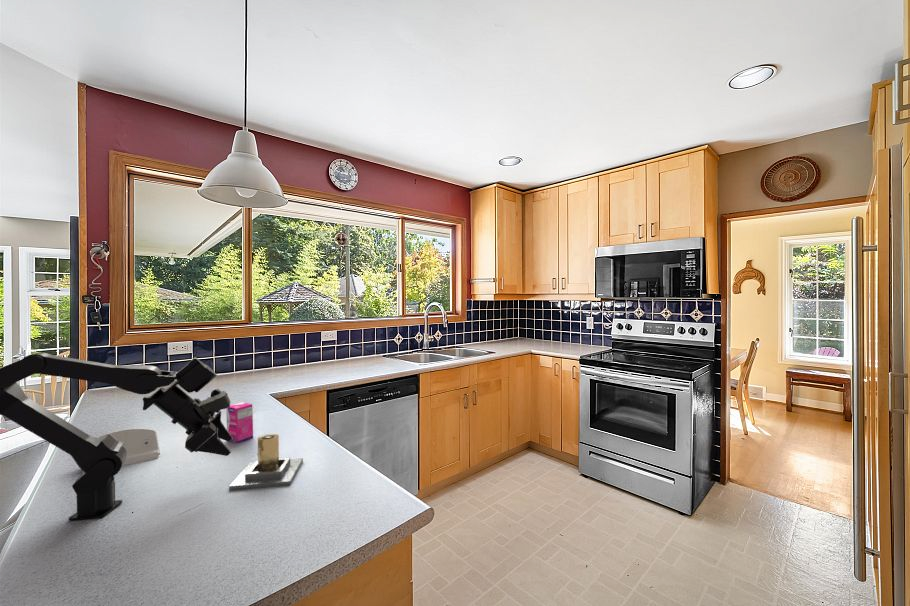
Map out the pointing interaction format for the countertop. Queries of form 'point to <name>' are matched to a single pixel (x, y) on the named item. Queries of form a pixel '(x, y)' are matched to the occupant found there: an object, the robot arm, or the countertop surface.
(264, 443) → the brass cylinder
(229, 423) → the supplement box
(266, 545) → the countertop surface
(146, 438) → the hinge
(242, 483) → the flange plate
